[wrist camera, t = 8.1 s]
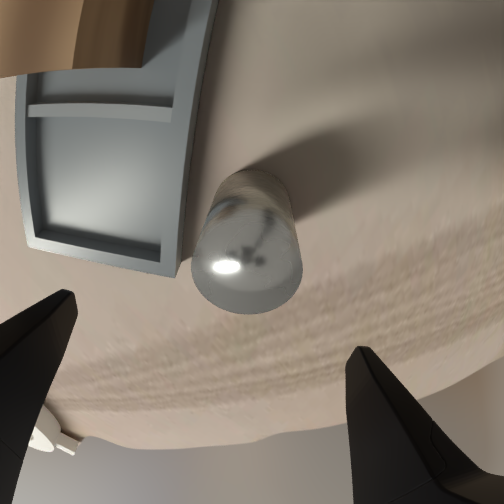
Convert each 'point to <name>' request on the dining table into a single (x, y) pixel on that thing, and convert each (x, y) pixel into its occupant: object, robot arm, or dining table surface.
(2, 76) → the walnut block
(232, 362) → the dining table surface
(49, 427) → the ring with crossbar
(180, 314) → the dining table surface
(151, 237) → the tray
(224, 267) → the steel cylinder
